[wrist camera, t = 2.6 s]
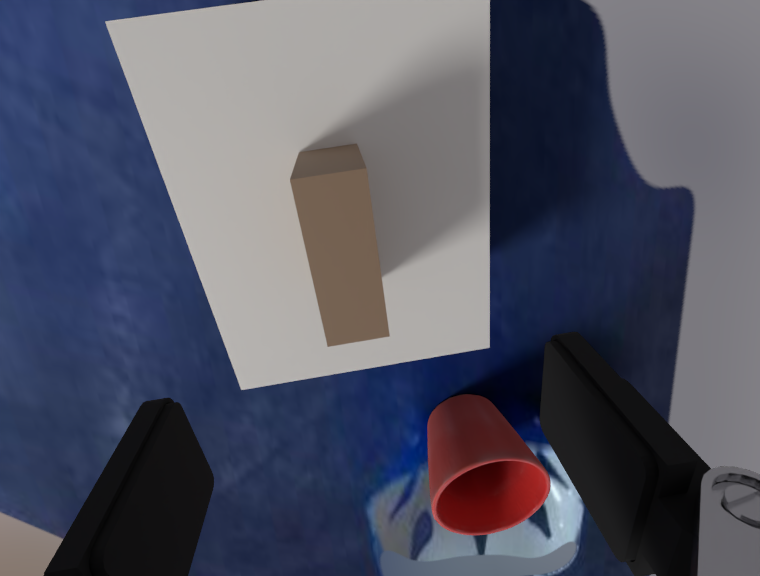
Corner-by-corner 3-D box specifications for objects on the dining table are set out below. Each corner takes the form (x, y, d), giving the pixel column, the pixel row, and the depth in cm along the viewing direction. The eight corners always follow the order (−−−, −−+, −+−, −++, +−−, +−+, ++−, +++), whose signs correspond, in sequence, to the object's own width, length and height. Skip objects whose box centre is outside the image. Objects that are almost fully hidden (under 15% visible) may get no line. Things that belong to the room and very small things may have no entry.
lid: (126, 25, 20) (13, 2, 13) (474, -21, 21) (553, -69, 13) (247, 369, 30) (221, 464, 23) (479, 329, 31) (526, 410, 23)
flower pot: (506, 447, 49) (544, 528, 40) (413, 459, 48) (432, 544, 40) (514, 376, 44) (560, 451, 35) (411, 389, 43) (432, 468, 35)
